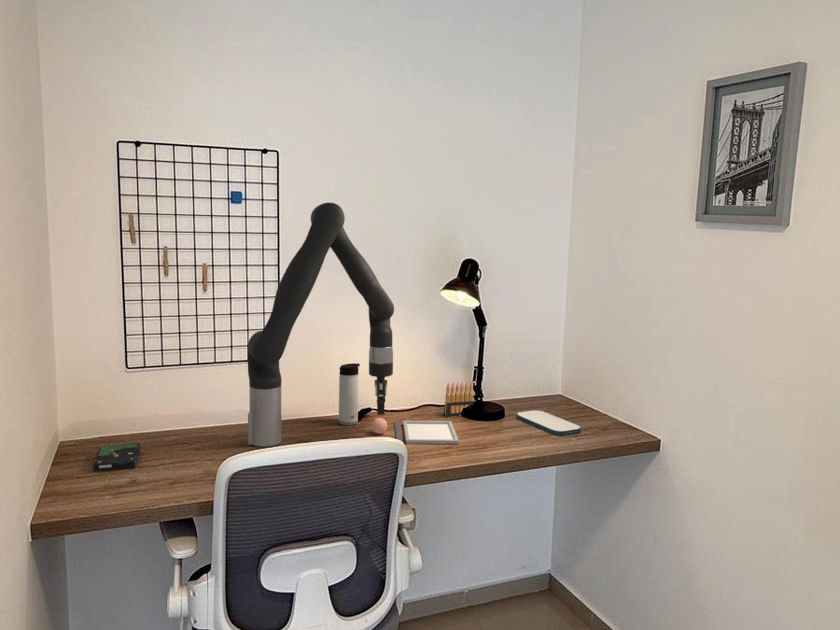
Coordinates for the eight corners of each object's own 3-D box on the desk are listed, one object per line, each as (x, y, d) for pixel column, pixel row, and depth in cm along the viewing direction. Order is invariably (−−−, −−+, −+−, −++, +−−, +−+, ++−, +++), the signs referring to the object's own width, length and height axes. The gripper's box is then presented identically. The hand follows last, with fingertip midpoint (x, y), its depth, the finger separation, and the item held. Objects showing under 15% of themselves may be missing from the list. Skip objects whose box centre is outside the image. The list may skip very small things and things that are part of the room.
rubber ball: (371, 435, 208) (371, 420, 207) (371, 431, 212) (371, 415, 212) (387, 436, 208) (387, 420, 207) (386, 431, 213) (387, 415, 212)
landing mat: (397, 445, 200) (397, 441, 200) (394, 423, 221) (394, 419, 221) (459, 445, 201) (459, 441, 201) (450, 423, 223) (450, 420, 223)
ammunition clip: (445, 417, 230) (447, 383, 229) (443, 415, 232) (444, 382, 230) (473, 415, 234) (475, 381, 232) (471, 413, 236) (472, 380, 234)
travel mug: (357, 426, 217) (358, 366, 214) (337, 425, 217) (338, 365, 215) (359, 420, 223) (360, 362, 221) (340, 419, 223) (340, 361, 221)
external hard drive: (512, 418, 233) (512, 413, 232) (538, 414, 238) (538, 409, 238) (557, 438, 212) (557, 432, 212) (584, 433, 218) (585, 427, 218)
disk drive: (136, 470, 175) (140, 451, 189) (136, 460, 175) (139, 442, 189) (93, 474, 172) (99, 454, 186) (92, 464, 171) (99, 444, 185)
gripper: (368, 355, 214) (368, 404, 216) (368, 365, 200) (368, 417, 202) (392, 355, 214) (391, 404, 217) (393, 364, 200) (393, 417, 203)
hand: (380, 410), depth 209 cm, fingers open, 8 cm apart
